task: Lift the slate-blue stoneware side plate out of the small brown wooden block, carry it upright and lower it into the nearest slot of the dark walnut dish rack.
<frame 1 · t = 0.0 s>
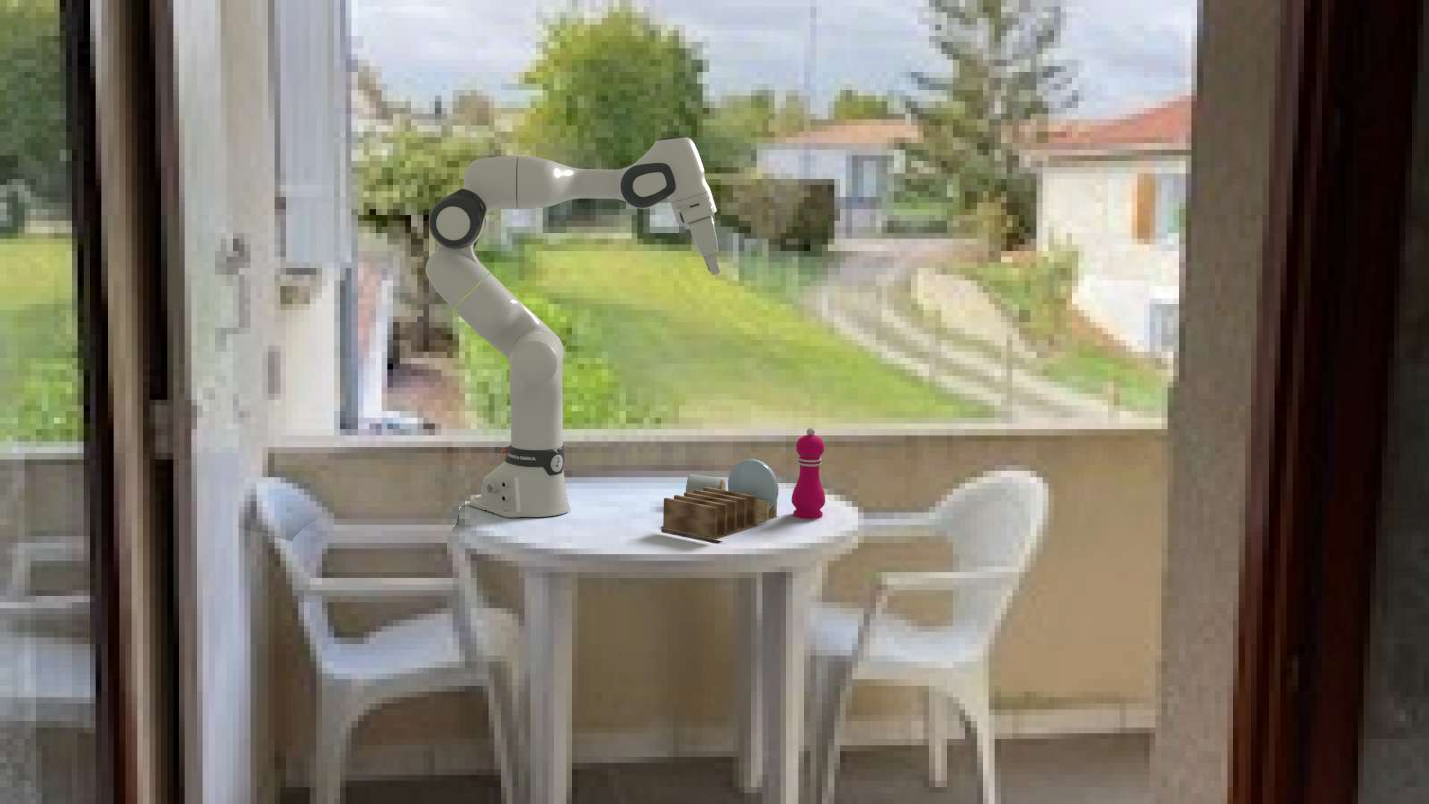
hand: (714, 272, 311), 52 cm above the table, tool tilted 20°, fingers open, 8 cm apart
pepper mill: (807, 520, 314), on the table
ceramic mug: (704, 509, 322), on the table
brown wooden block: (751, 519, 313), on the table
dish rack: (709, 531, 302), on the table
plate: (752, 515, 312), point 1 cm above the table, touching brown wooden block
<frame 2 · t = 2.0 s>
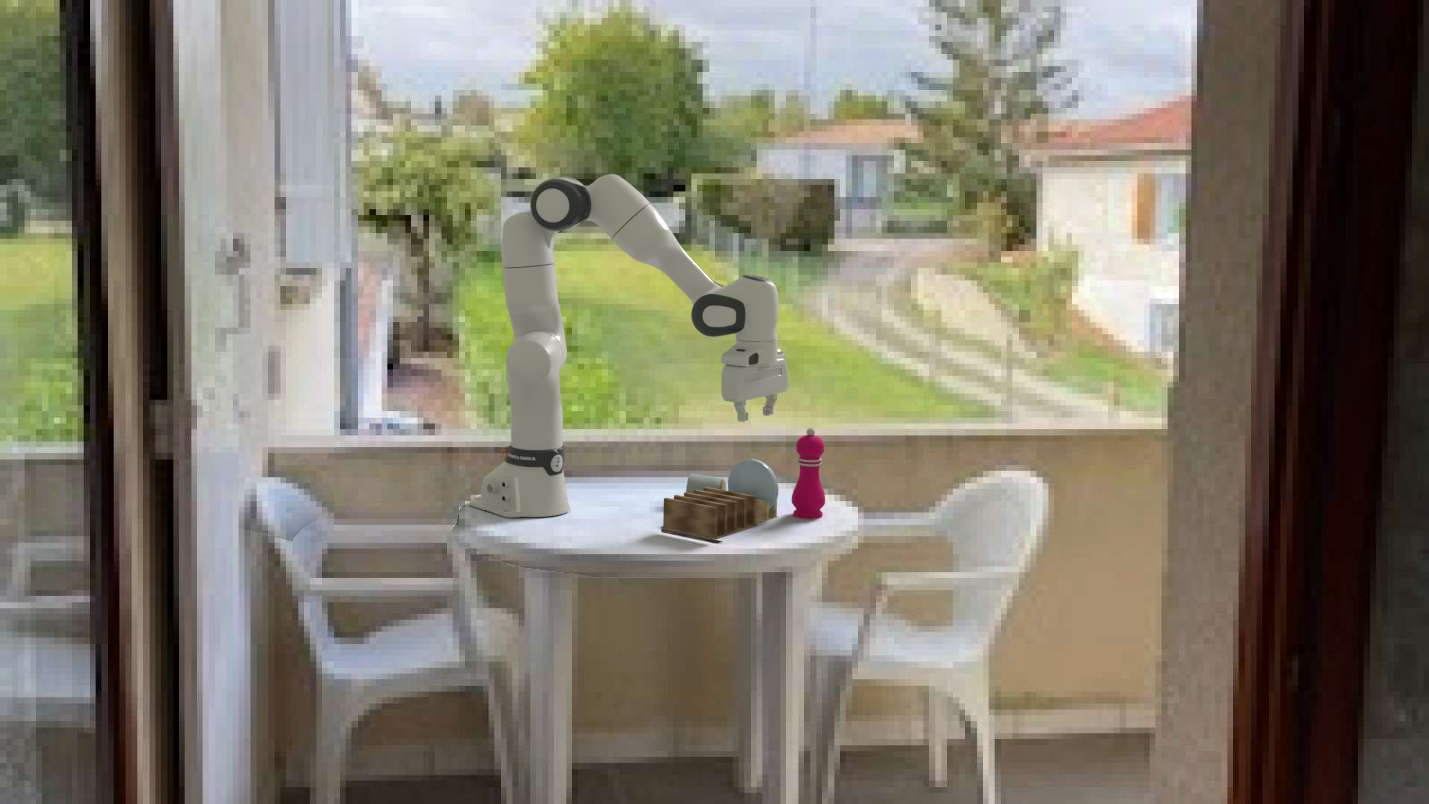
hand: (755, 418, 309), 22 cm above the table, tool pointing down, fingers open, 8 cm apart
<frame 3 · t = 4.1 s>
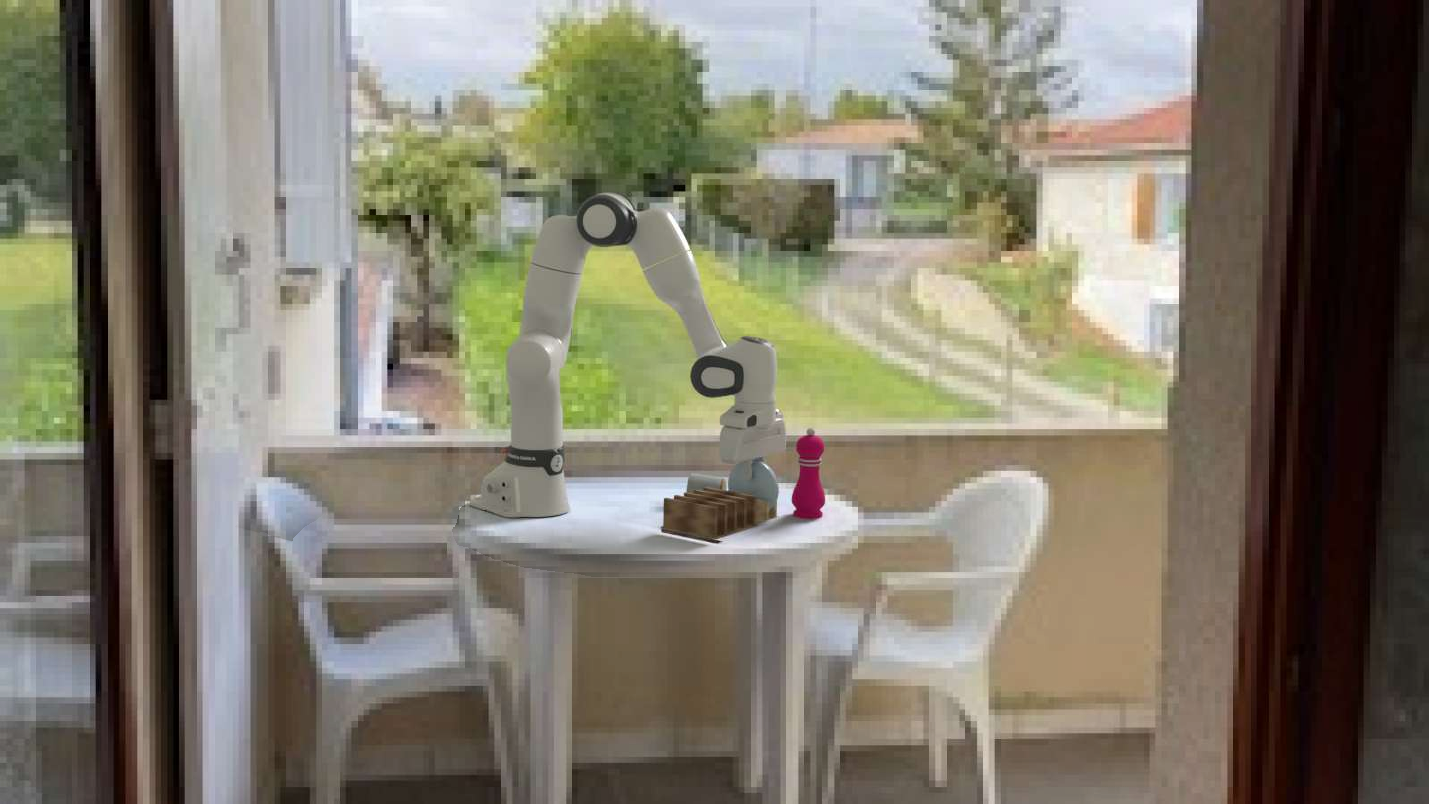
hand: (753, 478, 311), 9 cm above the table, tool pointing down, fingers closed on plate, 2 cm apart
plate: (752, 515, 312), point 1 cm above the table, touching gripper, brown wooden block
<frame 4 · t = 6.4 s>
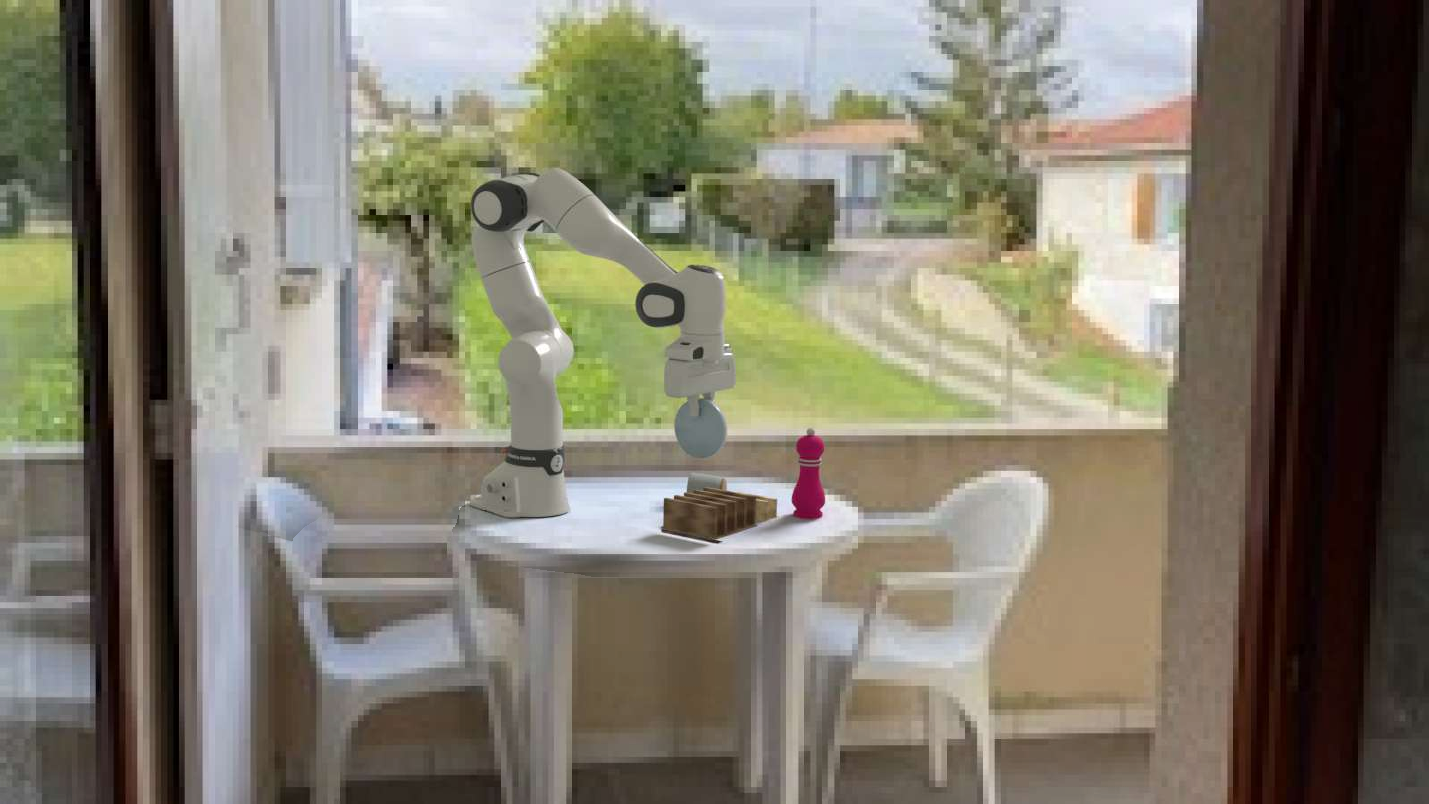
hand: (700, 415, 295), 25 cm above the table, tool pointing down, fingers closed on plate
plate: (699, 457, 296), point 16 cm above the table, touching gripper
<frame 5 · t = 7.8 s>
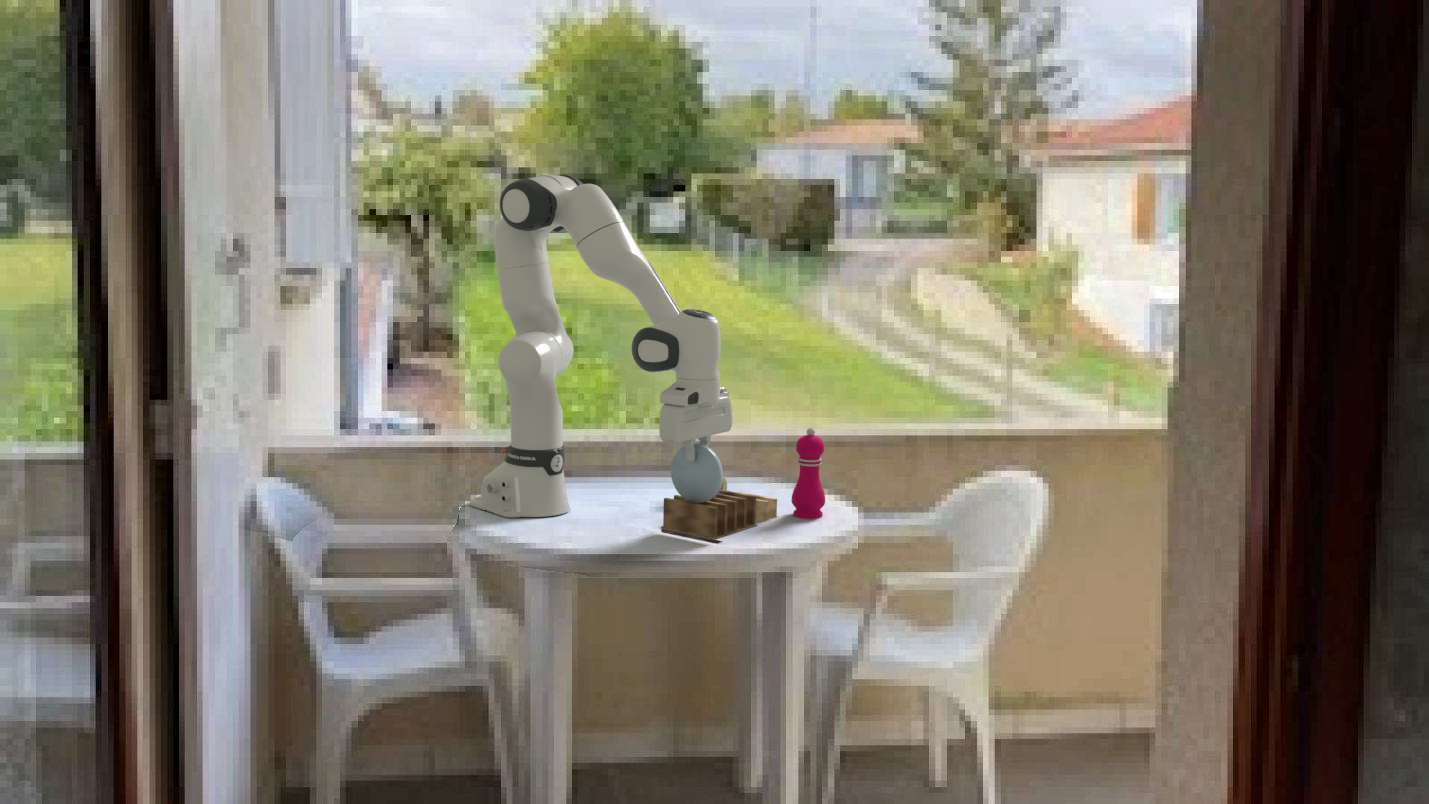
hand: (696, 459, 295), 16 cm above the table, tool pointing down, fingers closed on plate
plate: (695, 502, 297), point 7 cm above the table, touching gripper
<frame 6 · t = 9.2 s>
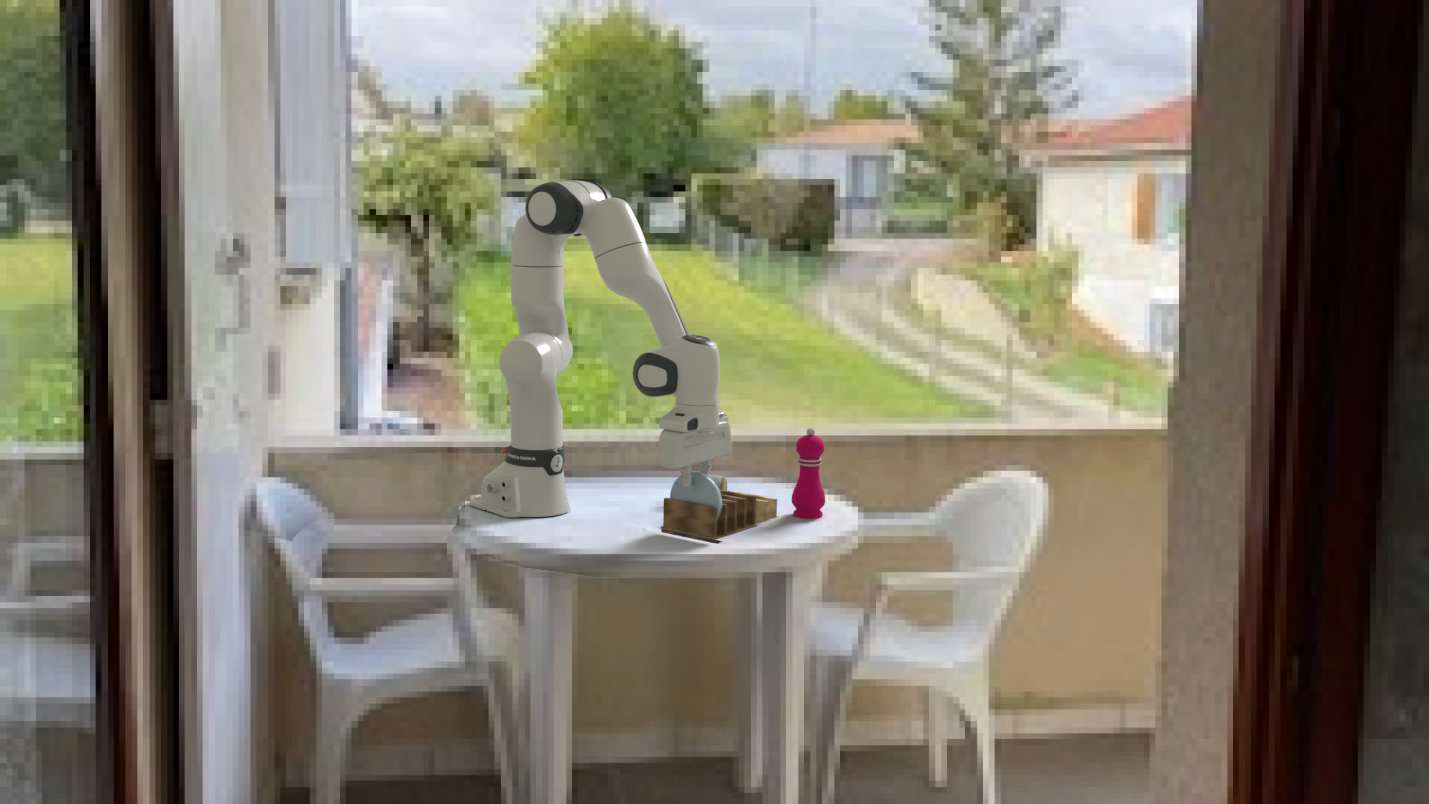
hand: (695, 484, 296), 11 cm above the table, tool pointing down, fingers open, 3 cm apart
plate: (694, 530, 298), point 1 cm above the table, touching dish rack
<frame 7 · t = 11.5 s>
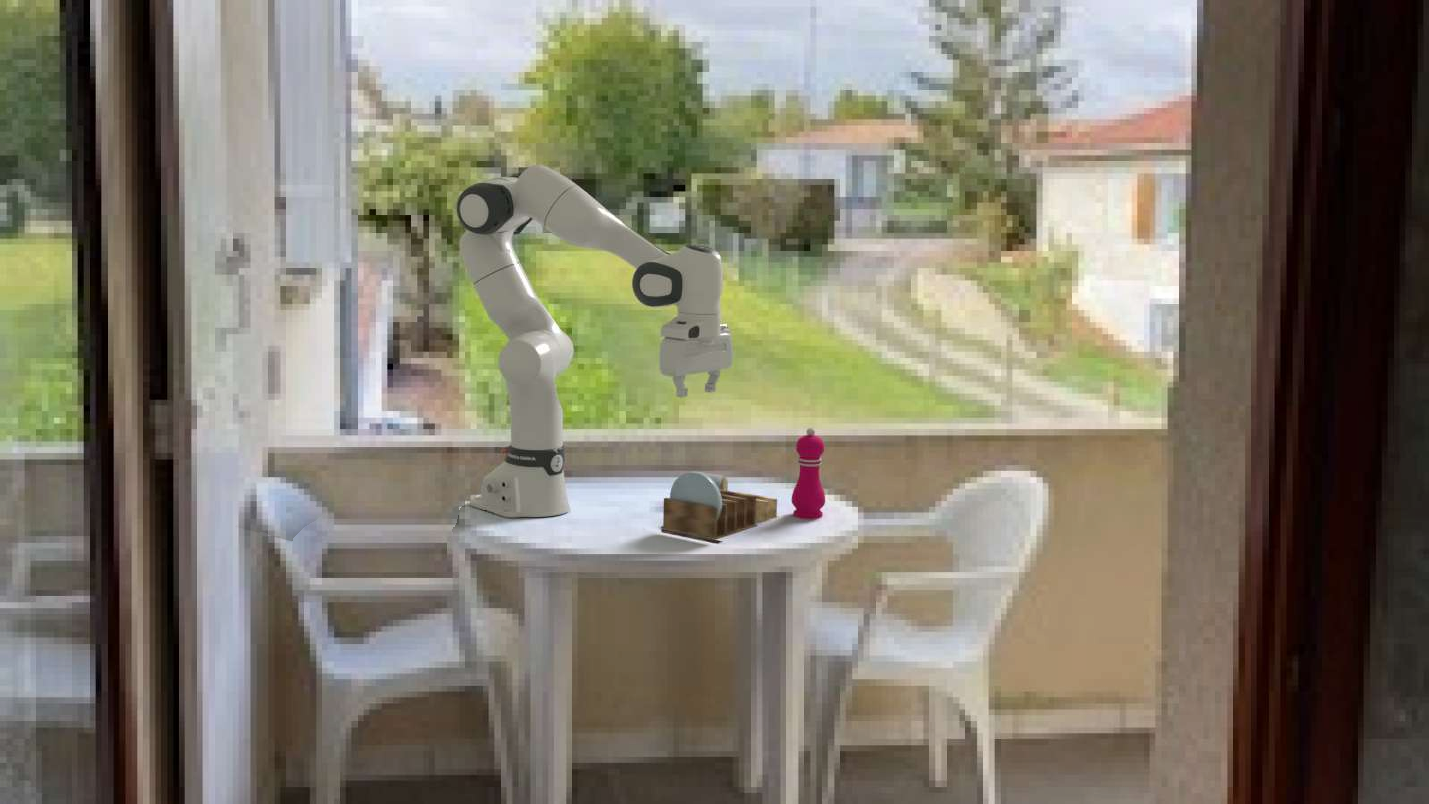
hand: (696, 394, 296), 29 cm above the table, tool pointing down, fingers open, 8 cm apart
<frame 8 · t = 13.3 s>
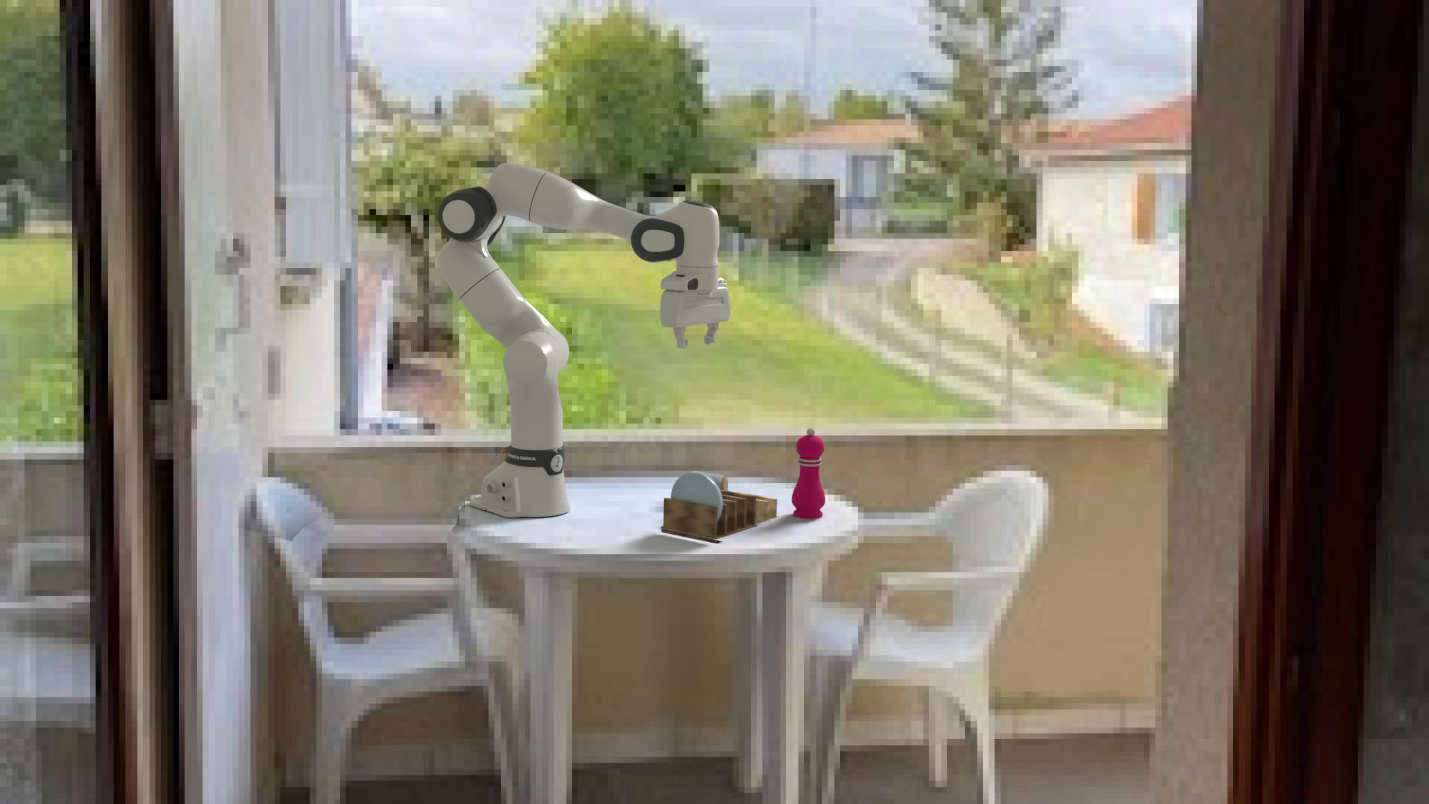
hand: (695, 346, 306), 37 cm above the table, tool pointing down, fingers open, 8 cm apart
at the end: plate 0.0 cm from the target spot on the dish rack, point 1.2 cm above the dish rack's base; plate tilted 3°; the gripper is holding nothing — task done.
